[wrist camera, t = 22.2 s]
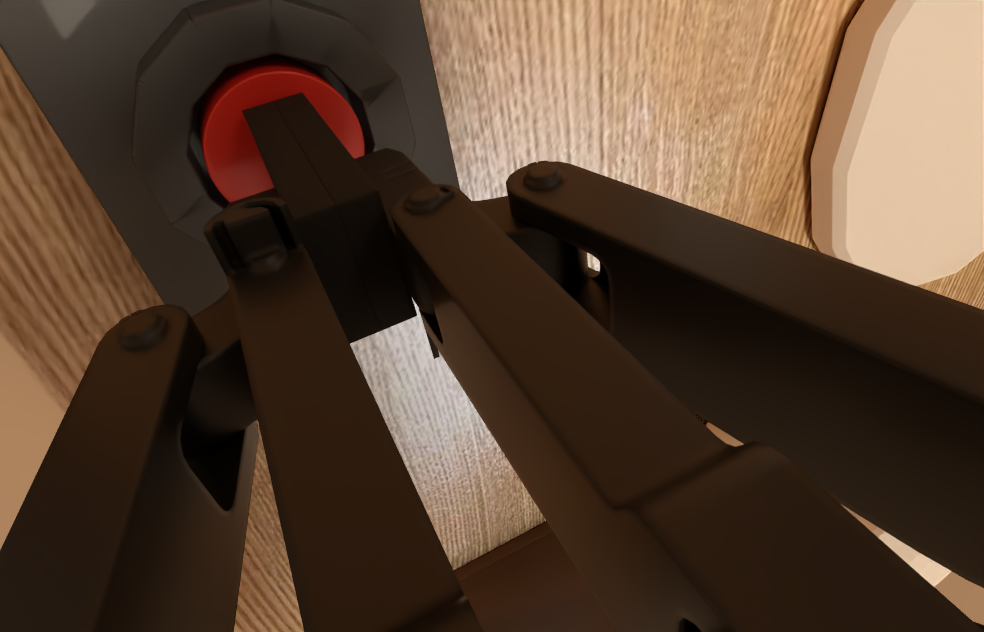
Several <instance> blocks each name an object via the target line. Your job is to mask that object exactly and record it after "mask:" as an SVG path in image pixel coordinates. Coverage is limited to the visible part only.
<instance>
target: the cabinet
mask: <svg viewBox="0 0 984 632" xmlns="http://www.w3.org/2000/svg"><path fill="white" fill-rule="evenodd" d="M454 573H455V575H456V578H457V580H458V582H459V584H460V586H461V588H462V590H463V592H464V594H465V596H466V597H467V598H468V600H469V602H470V604H471V606H472V608H473V610H474V612H475V614H476V617H477V619H478V621H479V623H480V625H481V627H482V629H483V631H484V632H616V630H615V629H614V627H613V625H612V623H611V622H610V620H609V619H608V617H607V616H606V614H605V612H604V611H603V609H602V608H601V606H600V604H599V603H598V601H597V600H596V598H595V597H594V595H593V593H592V592H591V590H590V589H589V587H588V586H587V584H586V582H585V581H584V579H583V578H582V576H581V574H580V573H579V571H578V570H577V568H576V567H575V565H574V563H573V562H572V560H571V559H570V557H569V555H568V554H567V552H566V551H565V549H564V548H563V546H562V544H561V543H560V541H559V540H558V538H557V537H556V535H555V533H554V532H553V530H552V529H551V527H550V525H549V524H548V522H545V523H543V524H541V525H540V526H538V527H536V528H534V529H532V530H530V531H528V532H527V533H525V534H523V535H521V536H519V537H517V538H515V539H514V540H512V541H510V542H508V543H506V544H504V545H502V546H501V547H499V548H497V549H495V550H493V551H491V552H489V553H487V554H486V555H484V556H482V557H480V558H478V559H476V560H474V561H473V562H471V563H469V564H467V565H465V566H463V567H461V568H460V569H458V570H456V571H454Z"/></svg>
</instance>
